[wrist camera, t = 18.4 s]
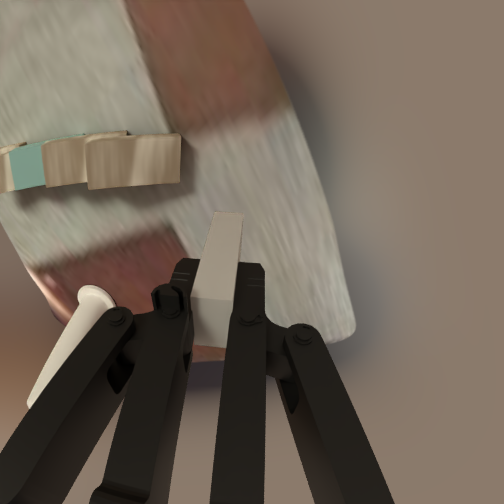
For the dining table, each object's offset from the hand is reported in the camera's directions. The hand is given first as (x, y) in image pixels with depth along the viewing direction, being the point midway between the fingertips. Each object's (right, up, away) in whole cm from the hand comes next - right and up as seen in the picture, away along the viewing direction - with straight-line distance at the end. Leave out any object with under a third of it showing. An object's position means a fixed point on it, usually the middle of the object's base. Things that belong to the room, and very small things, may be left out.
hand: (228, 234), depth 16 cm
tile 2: (-13, +10, +14) cm, 21 cm away
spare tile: (-18, +10, +14) cm, 25 cm away
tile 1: (-6, +9, +14) cm, 18 cm away
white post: (-24, -9, +28) cm, 38 cm away
